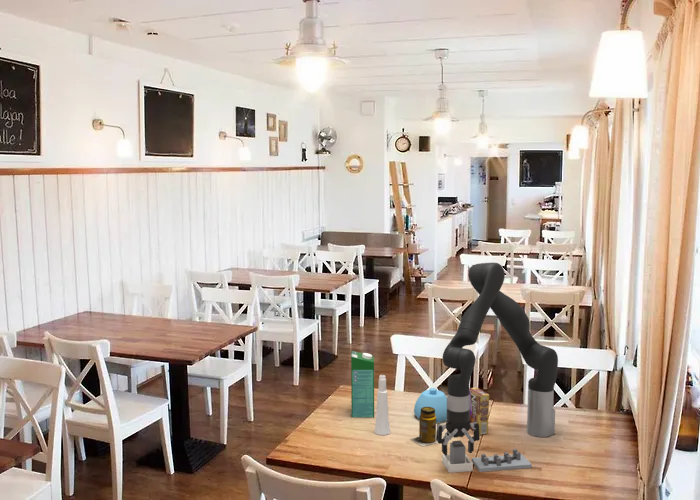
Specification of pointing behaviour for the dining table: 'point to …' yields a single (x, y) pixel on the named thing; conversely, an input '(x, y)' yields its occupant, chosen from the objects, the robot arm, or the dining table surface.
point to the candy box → (479, 409)
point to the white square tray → (457, 467)
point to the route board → (501, 462)
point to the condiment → (426, 427)
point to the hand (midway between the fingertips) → (457, 453)
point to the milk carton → (362, 384)
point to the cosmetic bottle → (382, 409)
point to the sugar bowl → (432, 403)
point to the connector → (457, 452)
